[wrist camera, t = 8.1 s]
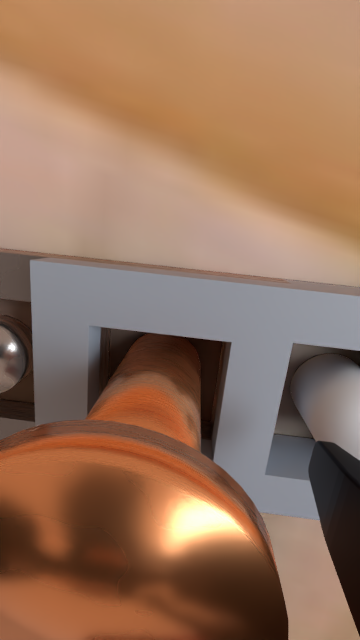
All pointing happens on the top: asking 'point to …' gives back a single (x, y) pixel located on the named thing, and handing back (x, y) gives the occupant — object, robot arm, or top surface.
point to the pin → (133, 520)
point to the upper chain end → (238, 367)
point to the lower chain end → (17, 346)
